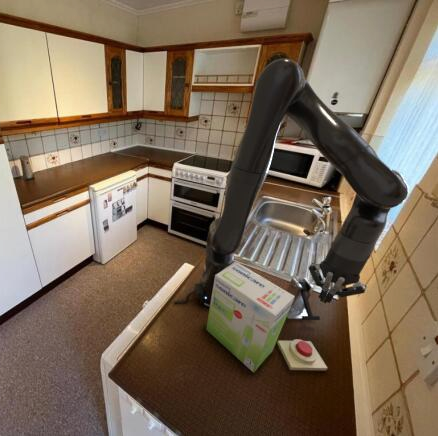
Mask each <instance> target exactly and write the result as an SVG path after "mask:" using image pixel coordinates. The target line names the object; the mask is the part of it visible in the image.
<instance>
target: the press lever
mask: <svg viewBox="0 0 438 436" xmlns="http://www.w3.org/2000/svg"><path fill="white" fill-rule="evenodd" d="M298 283H299V284H300V285H301V287H302V288H301V291H300V292H301V296H302V299H303V302H304V305H305V308H304V309H305V310H306V312H307V315H308V316H302V319H301V320H302V321H321V318H320V315H314V314H313V312H312V309H311V305H310V302H309V299H307V296H306V292H305V291H306V290H308V289H307V286H306V283H305V282H303V280H302V281H301V280H299V281H298Z"/></svg>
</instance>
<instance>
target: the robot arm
mask: <svg viewBox="0 0 438 436" xmlns="http://www.w3.org/2000/svg"><path fill="white" fill-rule="evenodd" d="M250 104H251V105H250V110H249V112H248V118H247V122H246V125H245V128H244V131H243V134H242V136H241V138H240V141H239V144H238V146H237V149H236V152H235V155H234V158H233V160H232V164H231V166H230V170H229V173H228V175H227V180H226V185H225V192H224V194H225V195H224V202H223V209H222V213H221V216H220V217H218V218H215V219H214V220H213V221H212V222H211V223H210V225H209V228H208V233H207V238H206V246H205V258H204V263H203V264H204V265H203V269H202V273H201V274H200V278H199V283H194V288H193V290H192V291H190V292H189V293H188V294H187V295H186V298H185V300H175V301H174V304H181V305H182V304H186V303H187V302H189V299H190V296H191V295H193V294H194V295H195V298H196V300H199V303H200V305H201V306H205V307H207V308H209V309H210V303H211V297H212V291H213V286H214V279H215V275H216V274H218V273H219V272H221V271H222V270H224V269H225V268H227V267H228V266H230V265H231V264H233V263H234V262H235V252H236V251H238V250H239V248H240V247H241V245H242V243H243V239H244V235H245V231H246V227H247V223H248V222H249V221H248V220H249V218H250V215H251V213H252V211H253V209H254V206H255V204H256V201H257V199H258V196H259V194H260V192H261V189H262V187H263V185H264V183H265V181H266V178H267V176H268V173H269V170H270V167H271V163H272V160H273V155H274V151H275V146H276V141H277V137H278V136H277V135H278V133H279V130H280V127H281V124H282V122H283V120H284V118H285V116H287V117H289V119H291V120H292V121H293V122H295V123H296V124H297V126H298V127H299V128H300V129H301V130H302V132H303V133H304V134H305V135H306V136H307V138H308V139H309V140H310V142H311V143H312V145H313V146H314V147H315V148H316V150H317V151H318V152H319V153H320V154H321V155H322V156H323V157H324V159H325V160H327V162H328V163H329V164H330V165H331V166H332V167H333V168H334V169H335V170H336V171H337V172H338V173H340V175H341V176H342V177H343V178H344V179H345V181H346V183H348V185H349V187H350V188H351V189H352V190H353V191H354V193H355V196H354V198H353V201H352V205H351V207H350V210H349V212H348V213H347V215H346V216H345V219H344V221H343V222H342V224H341V226H340V229H339V231H338V232H337V234H336V235H335V237H334V239H333V241H332V242H331V244H330V247H329V249H328V251H327V253H326V255H325V258H324V259H323V260H322V261H321V262H320V263H315V262H312V263H310V265H309V266H308V270H309V273H310V275H311V277H312V279H313V282H314V284H315V286H317V287H320V288H321V291H320V293H319V295H318V299H319V302H322V303H324V304H327V303H328V304H330V303H332V300H333V298H334V297H335V296H338V297H340V298H346V297H350V296H356V295H363V294H365V292H366V289H367V285H366V284H364V283H362V282H361V281H360V279H361V273H362V271H363V269H364V267H365V266H366V264H367V263H368V261H369V259H370V258H371V256H372V253H373V252H374V250H375V247H376V245H377V242H378V241H379V239H380V237H381V235H382V234H383V232H384V230H385V228H386V225H387V219H388V215H389V212H390V211H391V209H393V208H396V207H398V206H400V205H401V204H403V203H404V202H405V201H406V200H407V198H408V195H409V185H408V183H407V182H406V180H405V177H404V176H403V175H402V174H401V173H400V172H399V171H397V170H395V169H391V168H390V167H389V166H388V165H387V164H386V163H385V162H384V161H382V160H381V159H380V157H379V156H378V154H377V152H376V151H375V149H374V148H373V147H372V146H371V145H370V144H369V142H367V141H366V139H364V137H362V136H361V134H359V133H358V132H357V131H356V130H355V129H354V128H353V127H352V126H351V125H349V124H348V123H347V122H346V121H345V120H344V119H342V117H340V116H339V115H337V114H336V113H335V112H334V111H333V110H332V109H330V108H329V107H328V106H327V104H326V103H324V101H322V99H321V98H320V97H319V96H318V94H317V93H316V92H315V90H314V89H313V88H312V86H311V84H310V82H309V81H308V79H307V78H306V77H305V72H304V70H303V68H301V66H300V64H298V63H297V62H296V61H294V60H292V59H290V58H279V59H276V60H273V61H272V62H270V63H269V64H268V65H267V66H266V67H265V68H263V69H262V71H261V72H260V73H259V76H258V77H257V80H256V82H255V85H254V90H253V96H252V101H251V103H250ZM323 278H324V279H323ZM332 283H333V285H332V287H331V284H332ZM346 286H347V287H346ZM330 287H331V288H330ZM341 287H343V288H341Z"/></svg>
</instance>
